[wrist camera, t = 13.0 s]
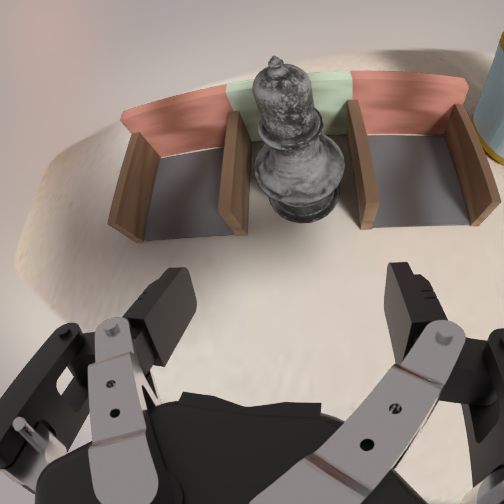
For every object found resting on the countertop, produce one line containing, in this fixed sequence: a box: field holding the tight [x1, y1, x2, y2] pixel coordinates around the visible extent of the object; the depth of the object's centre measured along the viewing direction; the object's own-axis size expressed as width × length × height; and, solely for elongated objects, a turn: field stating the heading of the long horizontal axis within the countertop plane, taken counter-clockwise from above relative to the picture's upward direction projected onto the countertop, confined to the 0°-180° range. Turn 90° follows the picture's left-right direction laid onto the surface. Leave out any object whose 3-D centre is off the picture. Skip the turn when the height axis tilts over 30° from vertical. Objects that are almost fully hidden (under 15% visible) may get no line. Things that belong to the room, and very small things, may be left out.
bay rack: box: [108, 71, 501, 242], centre depth 19 cm, size 27×10×6 cm, turn 88°
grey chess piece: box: [252, 56, 345, 223], centre depth 16 cm, size 6×6×12 cm
